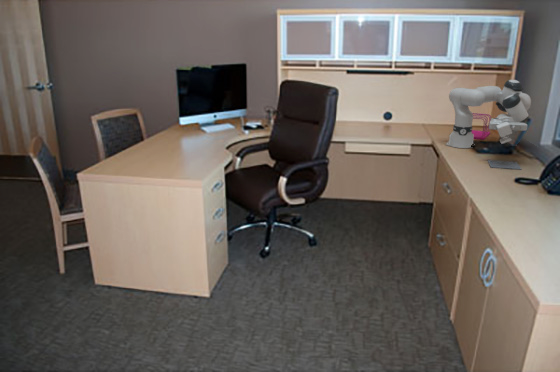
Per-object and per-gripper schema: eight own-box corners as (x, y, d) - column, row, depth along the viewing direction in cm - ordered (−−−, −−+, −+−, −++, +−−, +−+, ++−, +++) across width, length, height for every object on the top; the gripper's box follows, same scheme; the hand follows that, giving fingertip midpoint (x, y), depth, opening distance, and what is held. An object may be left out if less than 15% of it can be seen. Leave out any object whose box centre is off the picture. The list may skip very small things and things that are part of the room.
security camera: (514, 139, 256) (509, 123, 253) (501, 144, 259) (496, 128, 256) (512, 136, 261) (507, 121, 259) (499, 141, 264) (494, 125, 262)
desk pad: (487, 160, 274) (487, 159, 274) (516, 162, 270) (516, 161, 269) (490, 167, 260) (490, 166, 259) (521, 169, 255) (521, 169, 255)
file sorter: (458, 137, 337) (461, 116, 332) (466, 131, 356) (469, 111, 351) (483, 140, 327) (486, 118, 322) (490, 134, 347) (493, 113, 342)
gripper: (524, 130, 267) (528, 135, 255) (486, 128, 273) (489, 133, 261) (525, 119, 265) (530, 124, 253) (488, 118, 271) (491, 122, 259)
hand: (509, 128), depth 257 cm, fingers closed on security camera
